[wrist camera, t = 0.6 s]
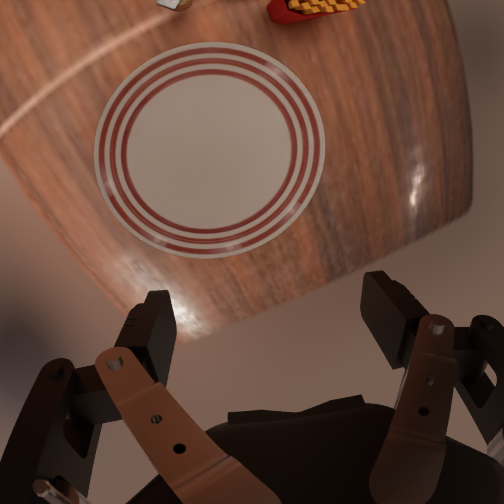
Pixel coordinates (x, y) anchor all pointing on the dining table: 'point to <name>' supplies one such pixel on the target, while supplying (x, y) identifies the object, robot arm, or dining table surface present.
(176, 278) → the dining table surface
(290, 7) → the french fries
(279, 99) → the dinner plate
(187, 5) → the crank
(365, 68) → the dining table surface
